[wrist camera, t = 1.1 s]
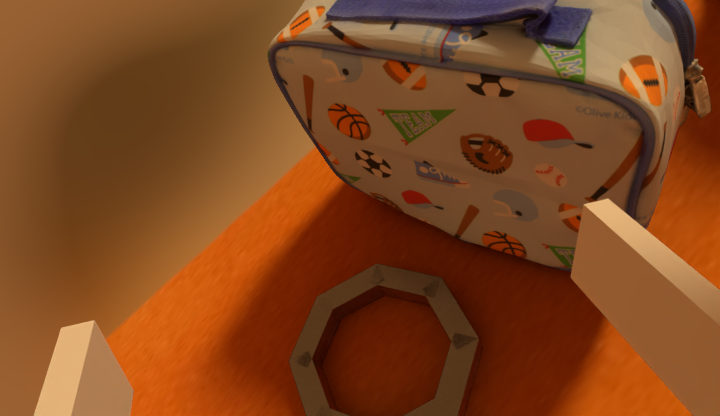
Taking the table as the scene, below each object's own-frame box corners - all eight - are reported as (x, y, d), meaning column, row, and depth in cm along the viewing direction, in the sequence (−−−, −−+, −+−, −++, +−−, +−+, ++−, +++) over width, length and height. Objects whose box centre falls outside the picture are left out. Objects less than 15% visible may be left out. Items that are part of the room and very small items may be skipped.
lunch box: (685, 193, 40) (773, -92, 23) (649, 310, 36) (722, 72, 19) (384, 130, 54) (299, -76, 37) (335, 209, 50) (215, 21, 33)
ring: (424, 252, 44) (419, 240, 43) (512, 397, 36) (509, 388, 34) (285, 328, 44) (275, 319, 43) (339, 491, 36) (329, 487, 34)
